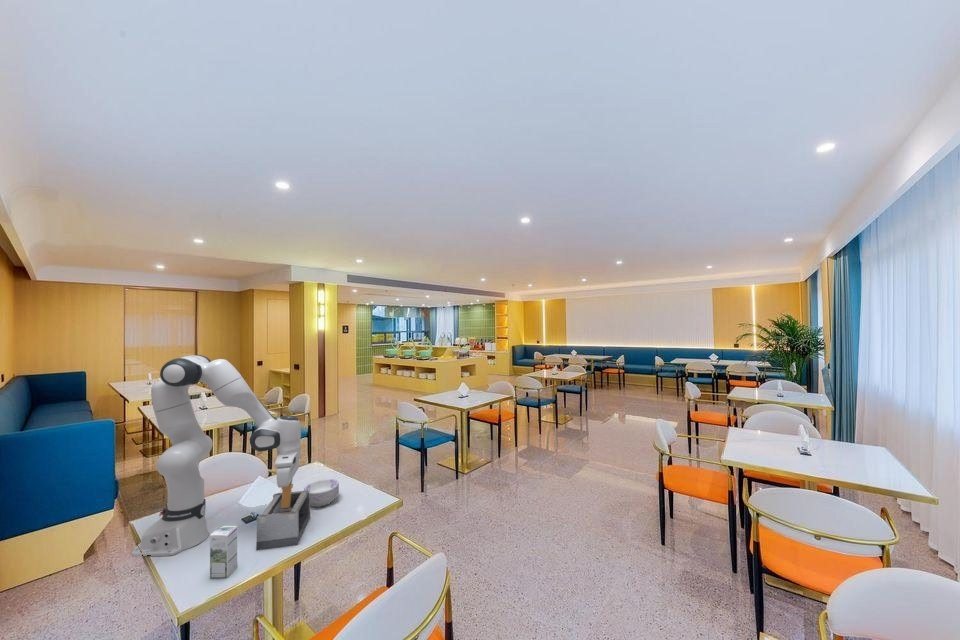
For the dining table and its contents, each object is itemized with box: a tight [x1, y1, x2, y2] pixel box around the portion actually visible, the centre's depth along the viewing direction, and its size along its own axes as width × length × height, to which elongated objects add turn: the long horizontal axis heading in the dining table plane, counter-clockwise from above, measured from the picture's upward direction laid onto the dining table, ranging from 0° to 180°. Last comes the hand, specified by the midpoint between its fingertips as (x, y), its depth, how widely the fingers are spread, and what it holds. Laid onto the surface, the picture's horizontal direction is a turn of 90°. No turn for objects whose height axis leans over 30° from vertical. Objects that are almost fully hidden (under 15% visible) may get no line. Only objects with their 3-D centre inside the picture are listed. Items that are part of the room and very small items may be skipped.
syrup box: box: [209, 525, 238, 579], centre depth 121 cm, size 6×6×14 cm
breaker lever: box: [279, 483, 294, 513], centre depth 146 cm, size 2×4×10 cm, turn 103°
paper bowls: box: [303, 478, 340, 508], centre depth 170 cm, size 15×15×8 cm
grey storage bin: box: [255, 490, 311, 551], centre depth 144 cm, size 20×14×12 cm
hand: (288, 488), depth 149 cm, fingers closed, pressing on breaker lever
